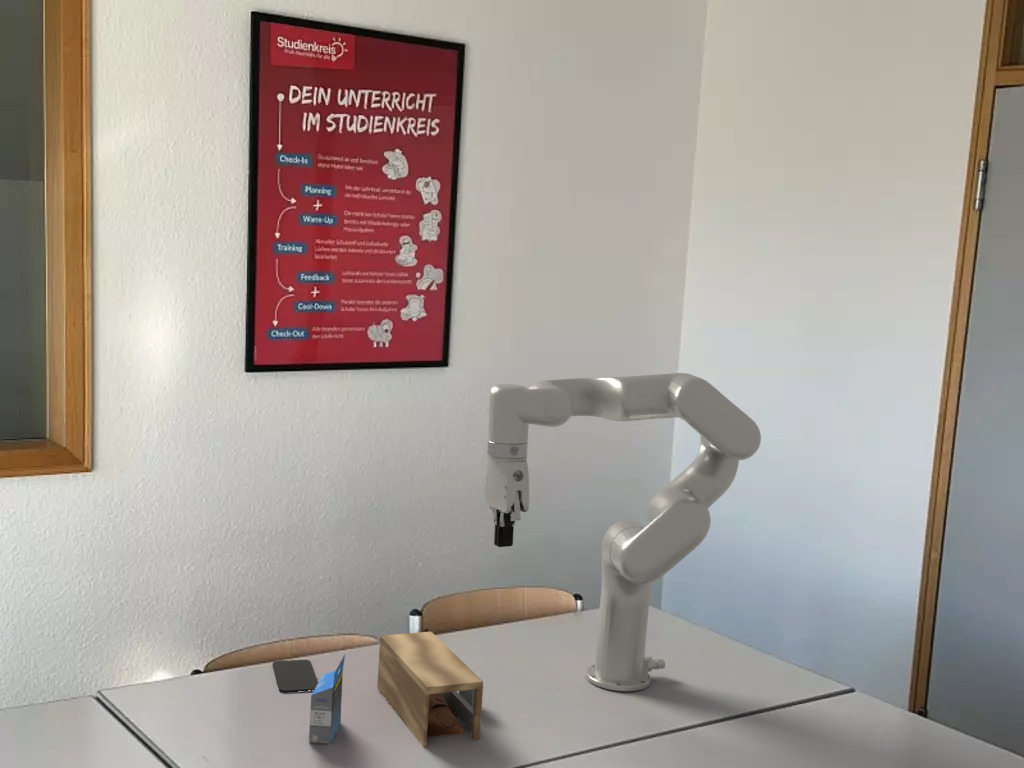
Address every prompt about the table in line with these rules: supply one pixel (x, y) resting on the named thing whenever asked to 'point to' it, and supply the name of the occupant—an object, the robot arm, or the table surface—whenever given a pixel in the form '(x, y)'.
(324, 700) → the blue cardboard box
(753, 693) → the table surface
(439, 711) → the sunglasses case
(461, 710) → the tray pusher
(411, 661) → the oak counter
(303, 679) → the phone
